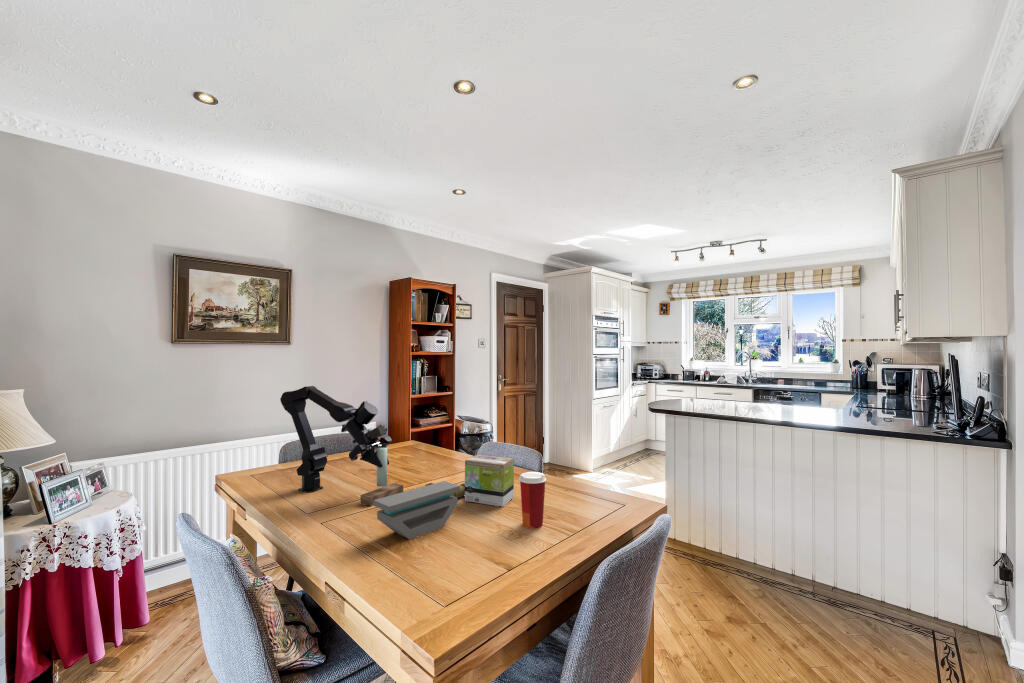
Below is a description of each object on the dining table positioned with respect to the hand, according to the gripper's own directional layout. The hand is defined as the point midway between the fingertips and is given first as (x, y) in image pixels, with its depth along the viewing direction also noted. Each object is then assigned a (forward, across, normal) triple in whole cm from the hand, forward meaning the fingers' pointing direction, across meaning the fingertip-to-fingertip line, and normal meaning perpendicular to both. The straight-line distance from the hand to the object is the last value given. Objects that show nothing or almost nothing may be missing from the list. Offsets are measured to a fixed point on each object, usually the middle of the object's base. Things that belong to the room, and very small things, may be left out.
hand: (385, 465), depth 159 cm
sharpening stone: (+27, -20, -10) cm, 35 cm away
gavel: (+20, +13, -3) cm, 24 cm away
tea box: (+34, +10, -17) cm, 39 cm away
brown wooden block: (+8, 0, +9) cm, 12 cm away
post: (+4, 0, +6) cm, 7 cm away
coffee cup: (+49, -6, -32) cm, 58 cm away
